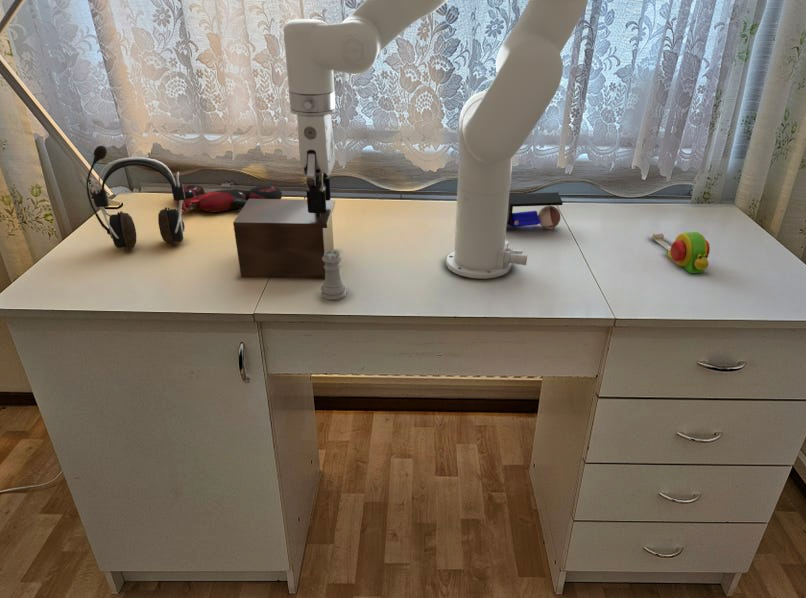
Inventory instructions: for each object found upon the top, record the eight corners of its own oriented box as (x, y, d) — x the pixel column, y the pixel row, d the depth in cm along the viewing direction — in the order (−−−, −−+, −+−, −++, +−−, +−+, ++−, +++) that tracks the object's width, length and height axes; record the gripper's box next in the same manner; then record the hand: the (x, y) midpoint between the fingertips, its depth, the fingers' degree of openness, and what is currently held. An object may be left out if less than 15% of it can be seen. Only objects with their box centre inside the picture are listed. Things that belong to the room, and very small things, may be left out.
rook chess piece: (347, 300, 114) (345, 258, 110) (321, 302, 113) (318, 259, 109) (346, 289, 118) (343, 247, 113) (320, 290, 117) (317, 248, 113)
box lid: (335, 204, 126) (333, 176, 123) (327, 228, 116) (325, 198, 113) (249, 202, 126) (245, 174, 123) (233, 226, 115) (229, 196, 112)
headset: (100, 258, 126) (72, 153, 116) (103, 243, 132) (76, 142, 122) (194, 248, 131) (175, 146, 121) (192, 234, 137) (174, 136, 127)
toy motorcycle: (180, 201, 158) (156, 214, 143) (178, 179, 156) (153, 190, 141) (285, 206, 159) (272, 219, 144) (284, 184, 157) (271, 195, 142)
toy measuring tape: (685, 278, 125) (693, 246, 121) (642, 239, 141) (648, 210, 137) (716, 277, 126) (725, 244, 122) (670, 238, 142) (677, 209, 138)
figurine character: (494, 239, 143) (563, 232, 142) (492, 205, 139) (563, 198, 138) (490, 227, 149) (557, 221, 148) (489, 195, 144) (557, 188, 144)
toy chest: (333, 251, 132) (331, 204, 126) (326, 279, 121) (322, 228, 116) (255, 250, 131) (249, 202, 126) (241, 277, 121) (233, 226, 115)
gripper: (328, 114, 103) (335, 223, 113) (340, 92, 118) (345, 191, 127) (280, 113, 103) (291, 222, 113) (298, 91, 118) (306, 190, 127)
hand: (319, 205), depth 120 cm, fingers closed on box lid, 6 cm apart
